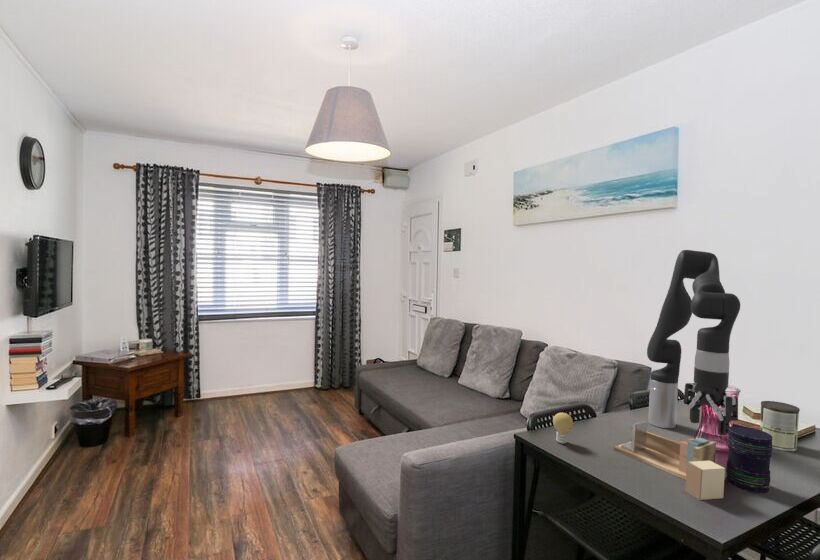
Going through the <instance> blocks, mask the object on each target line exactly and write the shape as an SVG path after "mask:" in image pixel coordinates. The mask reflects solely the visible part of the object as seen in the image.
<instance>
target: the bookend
mask: <svg viewBox="0 0 820 560" xmlns="http://www.w3.org/2000/svg"><path fill="white" fill-rule="evenodd" d="M648 424H649V422H648V420H642V421H638V422H635V423H632V427H633V432H632V442H631V441H629V442H630V443H628V442H626V443H627V444H624V443H622V444H623V445H621V444H620V445H621V447H622V448H624V449H627V450H629V451H631V452H637V451H640V450H643V449H646V442H647V432H648Z"/></svg>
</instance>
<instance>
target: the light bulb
mask: <svg viewBox="0 0 820 560" xmlns="http://www.w3.org/2000/svg"><path fill="white" fill-rule="evenodd" d="M552 423H553V424H552V425H553V427H554V429H555V430H556V433H555V434H556V435H555V437H556V438H555V440H556V441H557V442H558V443H559V444H567V443H568V442H569V440H568V439H569V431H571V429H572V428H573V425H574V421H573V418H572V416H571V415H569V414H568V413H565V412H558V413H556V414H555V415H554V416H553V418H552Z"/></svg>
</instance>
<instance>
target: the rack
mask: <svg viewBox="0 0 820 560" xmlns="http://www.w3.org/2000/svg"><path fill="white" fill-rule="evenodd" d="M632 432H633V426H631V434H630V441H629V442H625V443H621V444H618V445H615V446H613V451H616V452H618V453H620V454H622V455H624V456H628V457H630V458H632V459H635V460H637V461H639V462H642V463H644V464H647V465H648V466H652V467H654V468H656V469H659V470H661V471H663V472H666V473H667V474H670V475H673V476H675V477H677V478H679V479H682V480H685V481H686V471H687V462H693V461H712V462H714V463H716V456H717V455H716V453H717V442H716V441H714V440H712V441H710V440H709V439H705V438H703V437H698V438H693V437H692V438H688V439H685V440H683V441H680V443H678V442H675V441H673V440H674V439H672V440H670V439H671V438H669V439H667V438H668V437H665V436H662V437H661V435H658V434H656V433H652V432H649V431H647V442H646V449H643V450H640V451H637V452H631V451H629V450H627V449H624V448H622V447H621V445H623V444H627V443H630V442H632ZM664 437H665V438H664Z"/></svg>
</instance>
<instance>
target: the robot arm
mask: <svg viewBox="0 0 820 560" xmlns="http://www.w3.org/2000/svg"><path fill="white" fill-rule="evenodd" d="M684 279H688V280H690V279H691V280H693V281H692V286H691V287H692V292H693V296H692V298H691V296H690V294H689V292H688V291H687V289H686V286H685V283H684ZM740 311H741V301H740V298H739V297H738V296H737V295H736V294H734V293H729V292H726V291H725V289H724V286H723V284H722V282H721V280H720V265H719V260H718V257H717V256H716V254H714V253H712V252H708V251H699V250H692V249H683V250H681V251H680V252H679V253H678V254H677V258H676V260H675V264H674V268H673V272H672V276H671V281H670V284H669V288H668V289H667V294H666V295H665V299H664V301H663V304H662V306H661V310H660V313H659V317H658V320H657V324H656V326H655V328H654V331H653V333H652V335H651V337H650V338H649V341H648V345H647V348H646V349H647V350H646V356H647V359H648V360H649V361H650V362H653V363H656V364H657V363H658V364H666V365H665V366H664V367H662V368H659V369H655V370H652V371H651V372H650V378H649V379H650V383H649V384H650V385H649V398H648V399H649V401H648V402H649V403H648V417H647V418H648V420H647V421H648V424H650V425H652V426H654V427H657V428H662V429H675V428H676V426H677V418H678V417H677V414H678V389H679V378H680V368H681V359H682V345H681V342H679V340H677V339H670V337H671V336H673V335H675V334H676V333H678V332H679V331H682V330H683V329H684V328H685V327H686V326H687V325H688V324H689V322H690V320H691V318H692V315H694V316H695V317H696V318H699V319H705V320H720V322H719V323H718V324H717V325H715V326H709V327H702V328H699V329H698V330H697V333H696V335H697V336H696V350H695V356H694V368H693V369H694V370H693V382H689V383H688V382H687V383H685V386H684V393H683V404H684V405H687V406H688V408H689V420H690V423H692V424H699V423H700V416H701V409H700V408H701V406H703V405H704V406H707V407H709V408H711V409H712V411H713V412H714V413H716V415H717V417H718V422H717V423H718V424H717V427H718V428H717V434H718V435H720V436H728V433H729V427H730V422H731V421H735V422H736V421H738V420H739V398H738V397H737V396H730V395H727V393H726V390H727V389H728V387H729V382H730V378H729V377H730V354H729V353H730V340H731V338H730V337H731V334H732V331H733V327H734V325H735V322H736V319H737V318H738V316H739V313H740Z"/></svg>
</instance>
